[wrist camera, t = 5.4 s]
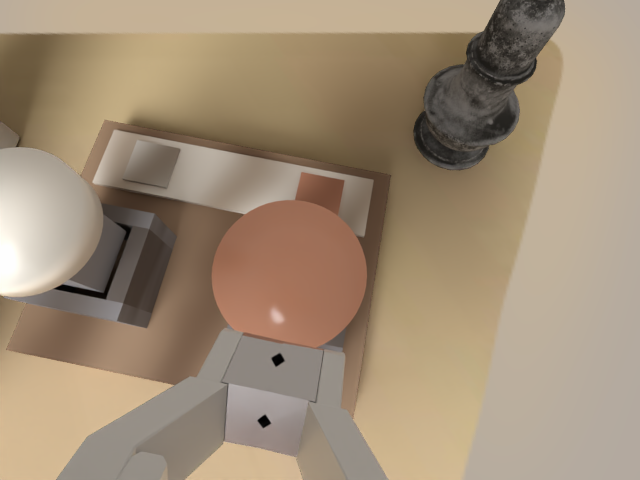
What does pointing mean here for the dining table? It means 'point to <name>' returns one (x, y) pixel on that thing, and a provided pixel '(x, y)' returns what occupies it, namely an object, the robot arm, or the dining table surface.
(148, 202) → the pattern board
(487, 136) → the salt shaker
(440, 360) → the dining table surface
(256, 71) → the dining table surface
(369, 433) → the dining table surface
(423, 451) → the dining table surface
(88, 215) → the white button
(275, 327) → the terracotta button
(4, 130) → the coffee box
